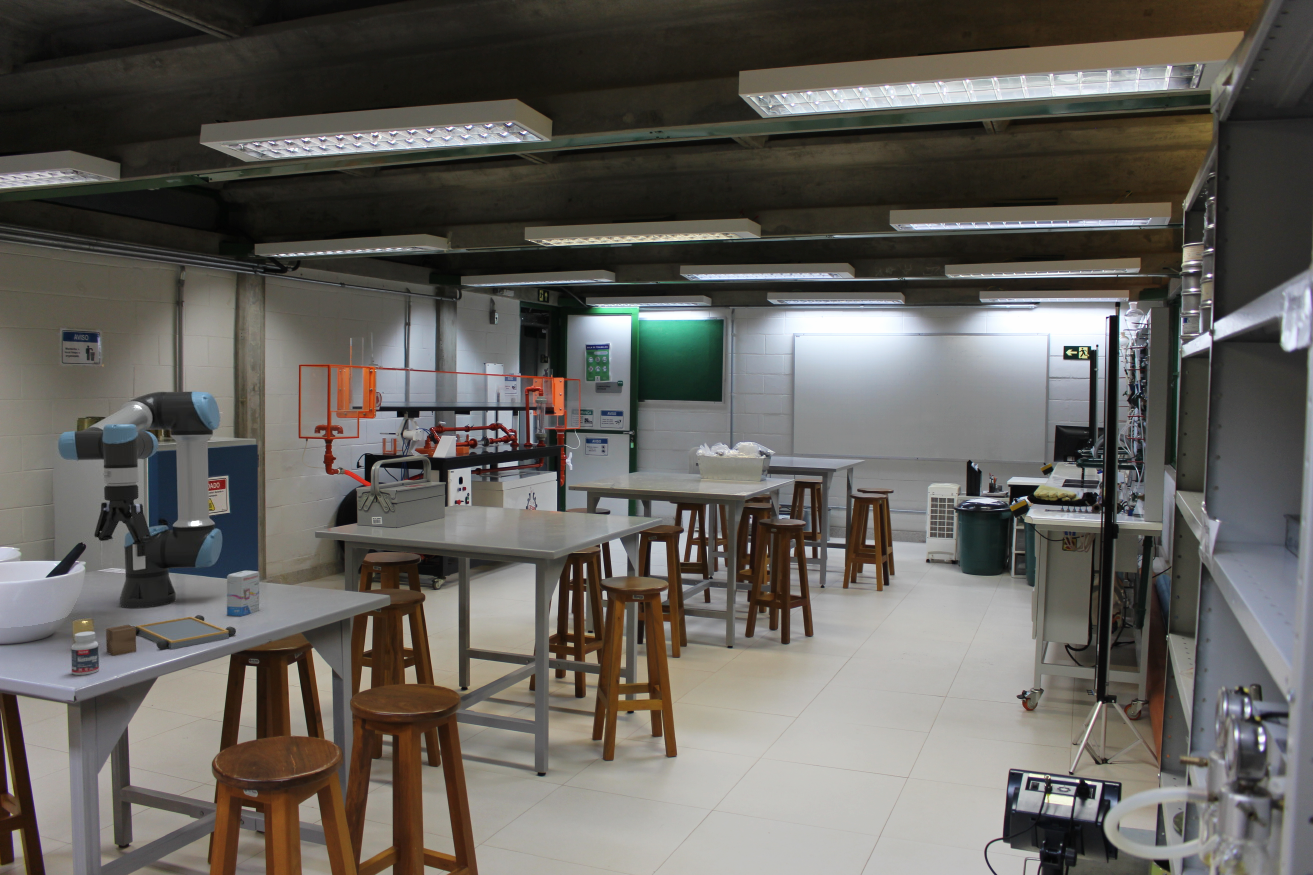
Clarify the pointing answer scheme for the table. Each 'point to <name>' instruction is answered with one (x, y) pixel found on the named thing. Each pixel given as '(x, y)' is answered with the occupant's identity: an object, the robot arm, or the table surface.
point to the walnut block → (121, 640)
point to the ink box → (242, 593)
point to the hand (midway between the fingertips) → (123, 567)
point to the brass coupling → (82, 626)
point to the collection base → (183, 632)
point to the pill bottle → (85, 654)
